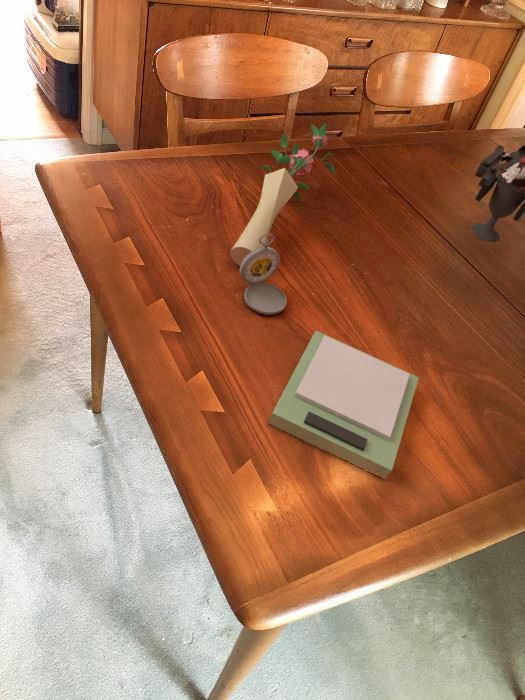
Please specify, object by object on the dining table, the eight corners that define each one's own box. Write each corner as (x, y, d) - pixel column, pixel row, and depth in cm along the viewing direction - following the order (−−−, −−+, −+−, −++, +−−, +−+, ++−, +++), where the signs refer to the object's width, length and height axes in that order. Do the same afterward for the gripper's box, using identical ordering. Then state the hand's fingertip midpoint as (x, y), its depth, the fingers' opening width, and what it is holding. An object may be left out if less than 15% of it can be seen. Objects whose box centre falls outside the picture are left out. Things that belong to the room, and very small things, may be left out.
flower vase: (220, 288, 97) (282, 162, 114) (287, 299, 93) (340, 168, 111) (204, 238, 87) (275, 110, 105) (278, 248, 83) (338, 113, 101)
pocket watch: (272, 323, 83) (289, 272, 75) (225, 297, 84) (237, 244, 77) (296, 295, 88) (314, 245, 81) (251, 271, 90) (265, 220, 82)
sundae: (481, 217, 96) (529, 136, 85) (511, 240, 93) (565, 159, 82) (458, 225, 93) (505, 141, 82) (488, 249, 90) (542, 165, 79)
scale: (412, 387, 80) (421, 373, 78) (384, 480, 68) (394, 467, 66) (311, 341, 82) (317, 326, 80) (267, 423, 70) (273, 409, 68)
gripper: (576, 201, 99) (543, 253, 84) (481, 153, 104) (435, 194, 89) (603, 163, 93) (574, 211, 79) (502, 114, 99) (457, 151, 84)
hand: (500, 202), depth 84 cm, fingers closed on sundae, 6 cm apart
